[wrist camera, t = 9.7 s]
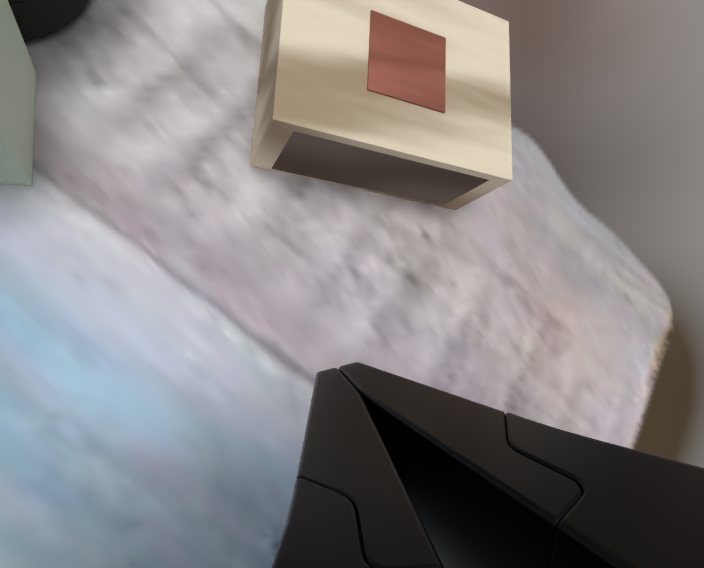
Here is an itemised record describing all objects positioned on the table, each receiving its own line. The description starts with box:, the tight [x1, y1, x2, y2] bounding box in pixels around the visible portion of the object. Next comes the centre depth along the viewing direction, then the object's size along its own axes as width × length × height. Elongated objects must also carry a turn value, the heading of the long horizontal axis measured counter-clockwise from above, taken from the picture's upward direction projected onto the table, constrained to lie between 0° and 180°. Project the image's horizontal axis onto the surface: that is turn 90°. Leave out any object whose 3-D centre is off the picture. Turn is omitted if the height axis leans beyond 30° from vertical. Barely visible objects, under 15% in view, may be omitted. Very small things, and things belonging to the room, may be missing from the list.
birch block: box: [250, 0, 512, 210], centre depth 24 cm, size 5×12×9 cm
